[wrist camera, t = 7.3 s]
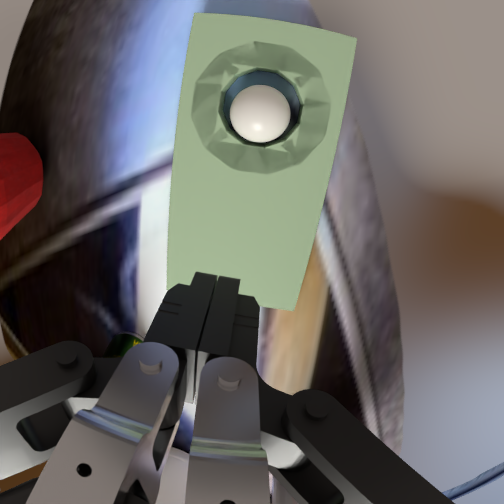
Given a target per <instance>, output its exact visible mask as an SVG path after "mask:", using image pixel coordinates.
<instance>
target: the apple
mask: <svg viewBox="0 0 504 504" xmlns="http://www.w3.org/2000/svg"><path fill="white" fill-rule="evenodd" d="M42 185H43V164H42V160H41V157H40V155H39V152H38V151H37V150H36V148H35V147H34V146H33V145H32V143H31V142H30V141H29V140H28V139H27V137H25V136H23V135H20V134H18V133H1V134H0V240H1V239H2V238H3V237H4V236H5V235H6V234H7V233H8V232H9V231H10V230H11V229H12V228H13V227H14V226H15V225H16V224H17V223H18V222H19V221H20V220H21V219H22V218H23V217H24V216H25V215H26V214H27V213H28V212H29V211H30V210H31V209H32V208H33V207H35V206H36V204H37V202H38V200H39V198H40V196H41V195H42Z"/></svg>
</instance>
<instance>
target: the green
mask: <svg viewBox="0 0 504 504" xmlns="http://www.w3.org/2000/svg"><path fill="white" fill-rule="evenodd" d="M356 42H357V38H354V37H351V36H347V35H343V34H339V33H336V32H332V31H328V30H324V29H320V28H315V27H311V26H306V25H301V24H296V23H291V22H285V21H279V20H273V19H266V18H258V17H250V16H240V15H229V14H214V13H194V17H193V22H192V27H191V32H190V37H189V43H188V48H187V54H186V60H185V67H184V73H183V80H182V86H181V94H180V101H179V109H178V117H177V125H176V134H175V144H174V154H173V165H172V177H171V190H170V206H169V224H168V249H167V290H169V289H171V288H172V287H173V286H175V285H176V284H178V283H180V284H185V285H190V284H191V282H192V279H193V277H194V274H195V272H196V271H197V272H202V273H208V274H214V275H218V277H219V275H220V276H226V277H232V278H237V279H241V280H240V286H239V292H238V294H242V295H248V296H254V297H255V299H256V301H257V303H258V305H259V306H262V307H269V308H275V309H282V310H289V311H294V309H295V306H296V302H297V299H298V295H299V292H300V288H301V285H302V281H303V278H304V274H305V271H306V267H307V264H308V260H309V256H310V253H311V249H312V245H313V242H314V238H315V234H316V230H317V226H318V222H319V218H320V215H321V211H322V207H323V203H324V198H325V194H326V190H327V186H328V182H329V178H330V173H331V169H332V165H333V160H334V156H335V151H336V147H337V142H338V138H339V133H340V128H341V123H342V119H343V114H344V109H345V104H346V99H347V93H348V88H349V83H350V77H351V72H352V66H353V60H354V54H355V48H356ZM257 70H258V71H265V72H271V73H277V74H279V75H280V76H281V77H283V78H284V79H285V80H286V81H288V82H289V83H290V84H291V85H293V86H294V89H295V91H296V94H297V97H298V99H299V102H300V109H299V115H298V120H297V124H296V125H295V126H294V127H293V128H292V129H291V130H290V131H289V132H288V134H287V135H286V136H285V137H284V138H281V139H278V140H275V141H272V142H269V143H266V144H263V143H257V142H251V141H245V140H244V139H243V138H242V137H240V136H239V135H238V134H236V133H235V132H234V131H232V130H231V129H230V127H229V125H228V122H227V120H226V117H225V115H224V113H223V107H224V101H225V94H226V91H227V90H228V89H229V88H230V87H231V85H232V84H233V83H234V82H235V81H236V80H237V78H238V77H241V76H243V75H246V74H249V73H252V72H254V71H257ZM217 281H218V279H217Z"/></svg>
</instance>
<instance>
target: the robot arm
mask: <svg viewBox="0 0 504 504" xmlns="http://www.w3.org/2000/svg"><path fill="white" fill-rule="evenodd" d="M217 279H218V281H217ZM240 280H241V279H237V278H232V277H226V276H220V275H219V277H218V275H214V274H208V273H202V272H197V271H196V272H195V274H194V277H193V279H192V282H191V284H190V285H185V284H180V283H178V284H176V285H175V286H173V287H172V288H171V289H169V290H168V291H167V293H166V295H165V297H164V299H163V302H162V303H161V305H160V307H159V309H158V311H157V313H156V315H155V317H154V319H153V322H152V324H151V326H150V328H149V330H148V332H147V334H146V336H145V338H144V341H143V343H140V344H137V345H135V346H133V347H132V348H130V349H129V350H128V351H127V352H126V354H125V355H124V356H123V357H118V358H93V355H92V353H91V351H90V349H89V348H88V347H87V346H85V345H84V344H82V343H80V342H76V341H63V342H60V343H57V344H54V345H52V346H49V347H47V348H44V349H42V350H39V351H37V352H34V353H32V354H29V355H27V356H24V357H22V358H19V359H17V360H14V361H12V362H9V363H7V364H4V365H2V366H0V480H1V479H4V478H7V477H9V476H12V475H14V474H16V473H19V472H21V471H24V470H26V469H28V468H31V467H33V466H35V465H38V464H40V463H42V462H44V461H47V460H48V462H47V463H46V466H45V467H44V469H43V471H42V473H41V475H40V477H38V478H34V479H31V480H29V481H27V482H24V483H22V484H20V485H18V486H16V487H14V488H11V489H9V490H7V491H5V492H2V493H0V504H155V503H156V500H157V497H158V493H159V488H160V480H161V475H162V472H163V469H164V466H165V463H166V460H167V457H168V454H169V452H170V449H171V446H172V443H173V440H174V437H175V434H176V432H177V429H178V426H179V422H180V417H181V414H182V410H183V406H184V402H187V403H192V404H193V400H194V396H195V404H197V405H196V413H195V421H194V430H193V438H192V443H191V448H190V455H189V464H188V473H187V483H186V494H185V504H270V488H269V471H270V472H271V474H272V475H273V486H272V504H455V503H453V502H452V501H451V500H450V499H449V498H447V497H446V496H445V495H444V494H442V493H441V492H440V491H439V490H437V489H436V488H435V487H434V486H433V485H431V484H430V483H429V482H428V481H427V480H425V479H424V478H423V477H422V476H421V475H420V474H418V473H417V472H416V471H415V470H414V469H412V468H411V467H410V466H409V465H408V464H407V463H406V462H404V461H403V460H402V459H401V458H400V457H399V456H398V455H396V454H395V453H394V452H393V451H392V450H391V449H390V448H388V447H387V446H386V445H385V444H384V443H383V442H382V441H381V440H380V439H378V438H377V437H376V436H375V435H374V434H373V433H372V432H371V431H370V430H368V429H367V428H366V427H365V426H364V425H363V424H362V423H361V422H360V421H359V420H358V419H356V418H355V417H354V416H353V415H352V414H351V413H350V412H349V411H348V410H347V409H346V408H345V407H344V406H342V405H341V404H340V403H339V402H338V401H337V400H336V399H335V398H334V397H333V396H331V395H330V394H328V393H326V392H323V391H320V390H315V389H307V390H302V391H299V392H297V393H295V394H294V395H293V396H292V395H289V394H286V393H284V392H281V391H279V390H276V389H274V388H272V387H271V386H269V385H268V384H266V383H265V382H264V381H263V380H262V379H261V377H260V376H259V374H258V371H257V368H256V360H257V345H258V328H259V312H260V306H259V305H258V303H257V301H256V299H255V297H254V296H248V295H242V294H238V292H239V286H240ZM195 392H196V395H195Z"/></svg>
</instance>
